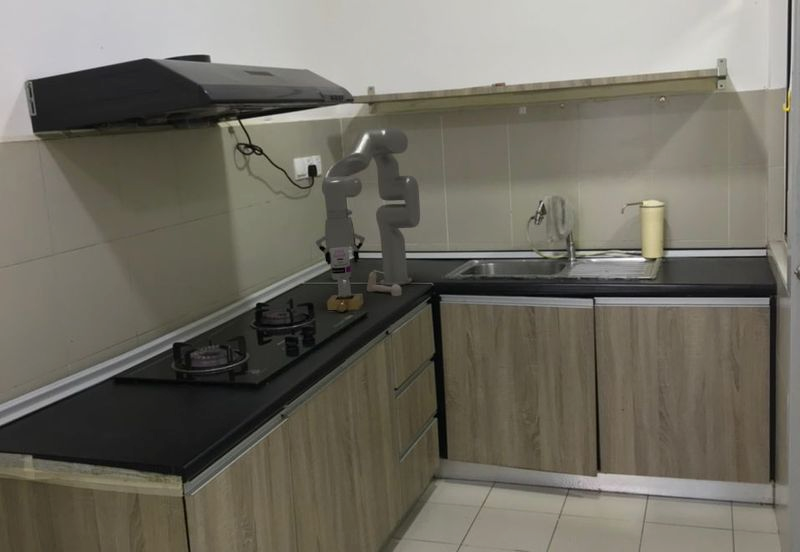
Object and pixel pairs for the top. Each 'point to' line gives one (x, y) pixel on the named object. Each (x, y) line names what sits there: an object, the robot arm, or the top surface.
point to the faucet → (373, 287)
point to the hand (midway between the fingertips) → (342, 262)
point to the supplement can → (340, 263)
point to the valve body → (345, 303)
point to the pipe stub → (344, 289)
